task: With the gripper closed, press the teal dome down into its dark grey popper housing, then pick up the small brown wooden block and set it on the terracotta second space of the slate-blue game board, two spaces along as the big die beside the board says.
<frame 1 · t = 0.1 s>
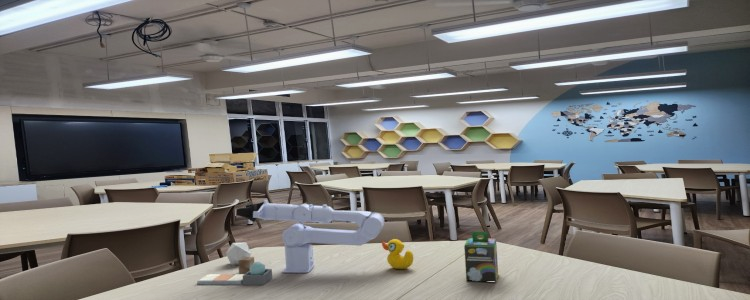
hand: (241, 210, 156), 22 cm above the table, tool horizontal, fingers open, 7 cm apart
die: (239, 264, 165), on the table
brown wooden block: (247, 272, 153), on the table
chalk box: (482, 278, 136), on the table
dome: (257, 268, 142), point 4 cm above the table, slide at 0.0 cm
duckling: (398, 269, 150), on the table
popper housing: (258, 281, 143), on the table
game board: (224, 280, 145), on the table
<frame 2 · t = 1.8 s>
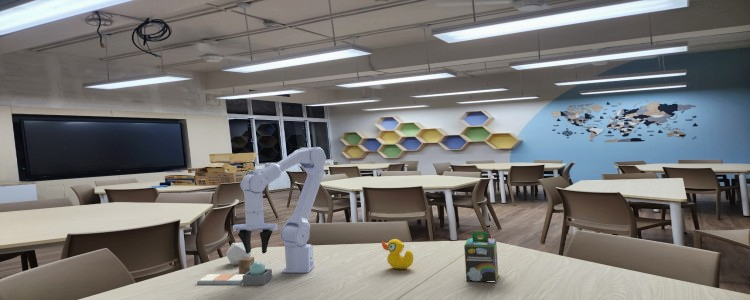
hand: (256, 252, 142), 9 cm above the table, tool pointing down, fingers open, 5 cm apart
nothing on the table moved.
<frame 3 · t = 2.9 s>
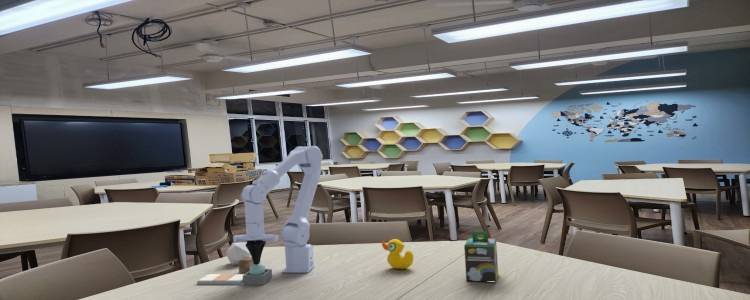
hand: (256, 263, 142), 6 cm above the table, tool pointing down, fingers closed, pressing on dome
dome: (257, 269, 142), point 4 cm above the table, slide at 0.4 cm, touching gripper
everything else where it was.
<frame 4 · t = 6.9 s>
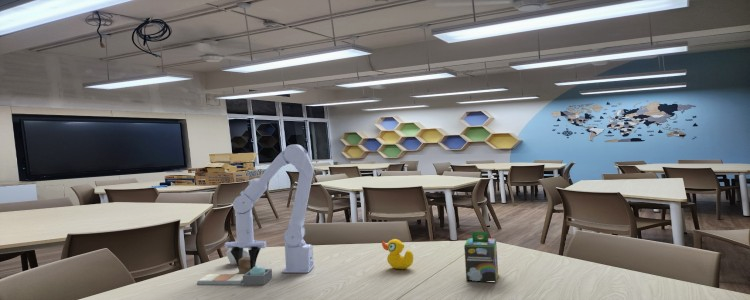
hand: (246, 268, 153), 1 cm above the table, tool pointing down, fingers closed on brown wooden block, 4 cm apart
brown wooden block: (247, 272, 153), on the table, touching gripper
dome: (257, 272, 143), point 3 cm above the table, slide at 1.2 cm
everything else where it was.
when the fingers open (4 cm above the table, at t = 9.7 s): brown wooden block drops 1 cm, resting on game board.
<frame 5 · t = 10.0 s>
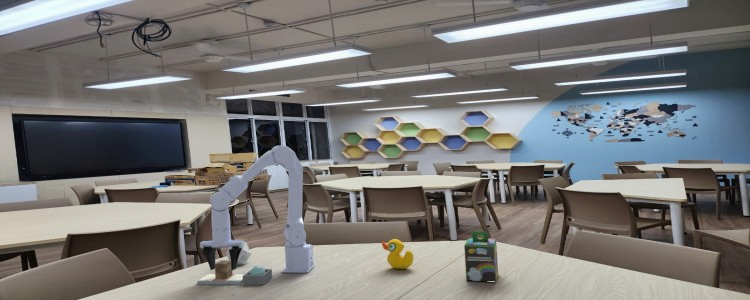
hand: (223, 269, 145), 4 cm above the table, tool pointing down, fingers open, 7 cm apart
brown wooden block: (224, 277, 145), point 1 cm above the table, touching game board
everything else where it was.
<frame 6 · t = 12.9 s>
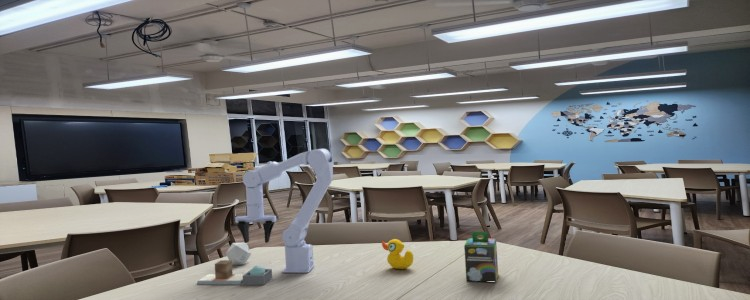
hand: (256, 242, 155), 10 cm above the table, tool pointing down, fingers open, 7 cm apart
nothing on the table moved.
at the end: brown wooden block inside the target area (0.2 cm from its centre), point 1.2 cm above the table; dome slide at 1.2 cm; the gripper is holding nothing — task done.
